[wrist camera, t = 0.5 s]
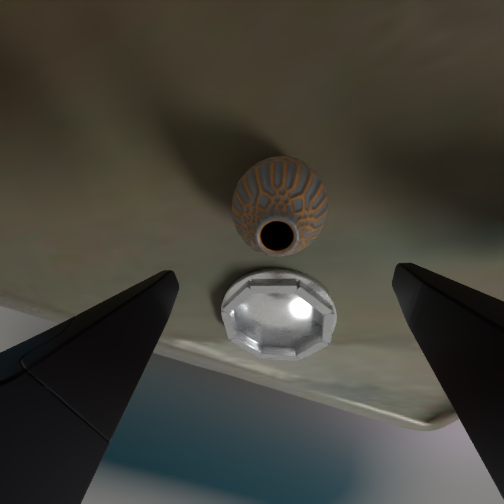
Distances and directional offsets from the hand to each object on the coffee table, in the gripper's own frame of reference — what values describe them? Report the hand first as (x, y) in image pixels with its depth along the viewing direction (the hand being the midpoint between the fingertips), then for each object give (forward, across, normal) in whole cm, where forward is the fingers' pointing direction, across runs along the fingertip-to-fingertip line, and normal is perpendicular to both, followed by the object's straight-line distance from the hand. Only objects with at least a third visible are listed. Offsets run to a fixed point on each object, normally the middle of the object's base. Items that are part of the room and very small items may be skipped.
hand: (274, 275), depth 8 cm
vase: (+12, 0, 0) cm, 12 cm away
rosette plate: (+12, +1, +15) cm, 19 cm away
